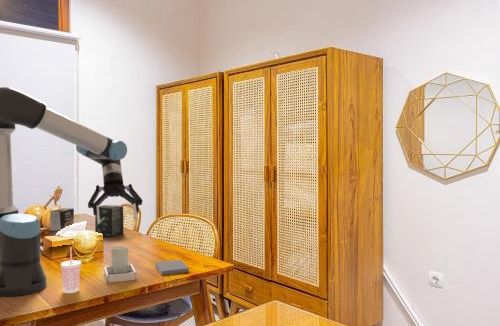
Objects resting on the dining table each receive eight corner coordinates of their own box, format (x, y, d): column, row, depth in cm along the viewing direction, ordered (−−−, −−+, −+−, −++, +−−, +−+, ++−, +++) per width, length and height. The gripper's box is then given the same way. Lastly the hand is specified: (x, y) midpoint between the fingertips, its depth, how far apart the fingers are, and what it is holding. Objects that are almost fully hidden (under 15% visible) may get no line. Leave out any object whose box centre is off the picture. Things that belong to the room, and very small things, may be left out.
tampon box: (123, 234, 216) (123, 206, 216) (109, 237, 208) (109, 208, 208) (109, 231, 222) (109, 204, 221) (94, 234, 214) (94, 206, 214)
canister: (112, 279, 146) (112, 251, 145) (110, 275, 151) (110, 247, 150) (129, 277, 148) (129, 249, 147) (126, 273, 153) (126, 246, 152)
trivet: (161, 275, 151) (161, 271, 151) (155, 266, 162) (155, 262, 162) (188, 272, 155) (188, 268, 155) (180, 263, 166) (180, 259, 166)
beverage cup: (58, 294, 131) (58, 250, 130) (63, 287, 137) (63, 245, 136) (79, 293, 132) (79, 249, 131) (83, 286, 138) (82, 244, 137)
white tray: (107, 282, 142) (107, 275, 142) (104, 273, 152) (104, 266, 152) (136, 279, 146) (136, 272, 146) (131, 270, 156) (131, 263, 156)
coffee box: (62, 247, 189) (62, 211, 188) (49, 246, 190) (49, 210, 189) (74, 242, 197) (74, 208, 197) (62, 241, 199) (62, 207, 198)
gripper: (142, 181, 180) (149, 223, 167) (79, 184, 169) (82, 228, 157) (144, 170, 174) (152, 212, 162) (80, 172, 164) (82, 216, 151)
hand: (117, 220), depth 159 cm, fingers open, 13 cm apart
